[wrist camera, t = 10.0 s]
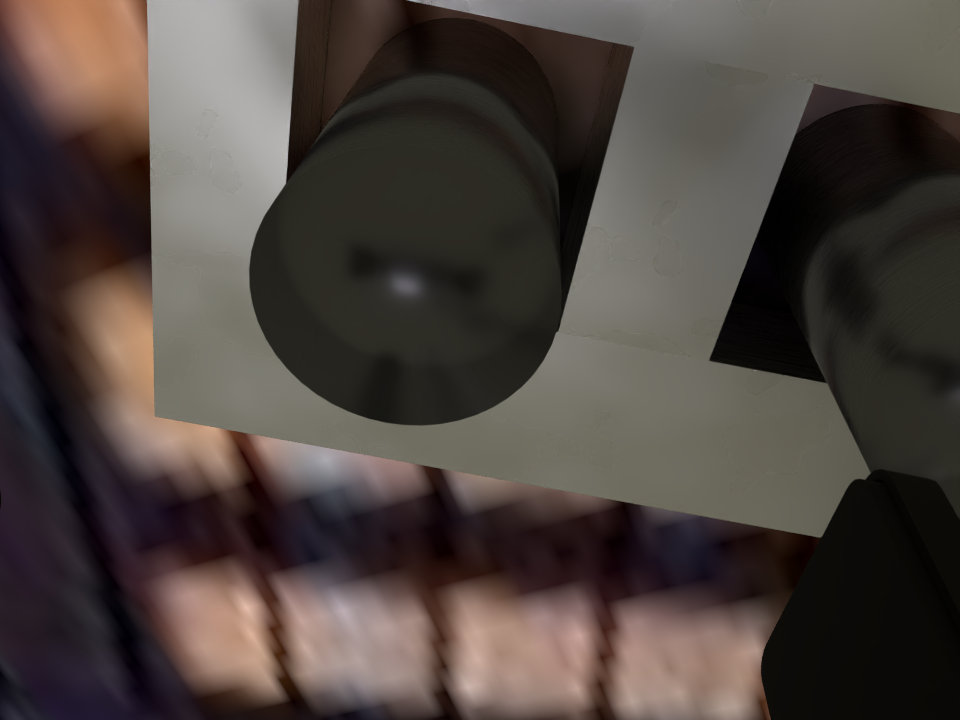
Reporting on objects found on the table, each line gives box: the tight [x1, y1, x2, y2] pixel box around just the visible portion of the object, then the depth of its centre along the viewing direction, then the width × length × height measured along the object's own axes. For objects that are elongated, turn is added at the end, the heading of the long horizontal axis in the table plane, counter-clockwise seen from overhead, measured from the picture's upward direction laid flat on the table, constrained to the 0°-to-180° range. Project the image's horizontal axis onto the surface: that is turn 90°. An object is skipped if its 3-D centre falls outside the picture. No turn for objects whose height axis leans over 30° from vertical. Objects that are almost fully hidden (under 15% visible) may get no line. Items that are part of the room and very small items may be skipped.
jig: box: [147, 0, 960, 538], centre depth 16 cm, size 20×14×8 cm
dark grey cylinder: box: [249, 18, 562, 426], centre depth 16 cm, size 4×4×8 cm
